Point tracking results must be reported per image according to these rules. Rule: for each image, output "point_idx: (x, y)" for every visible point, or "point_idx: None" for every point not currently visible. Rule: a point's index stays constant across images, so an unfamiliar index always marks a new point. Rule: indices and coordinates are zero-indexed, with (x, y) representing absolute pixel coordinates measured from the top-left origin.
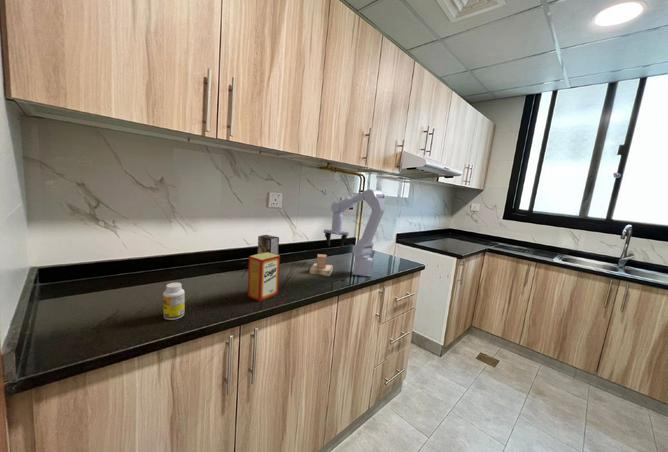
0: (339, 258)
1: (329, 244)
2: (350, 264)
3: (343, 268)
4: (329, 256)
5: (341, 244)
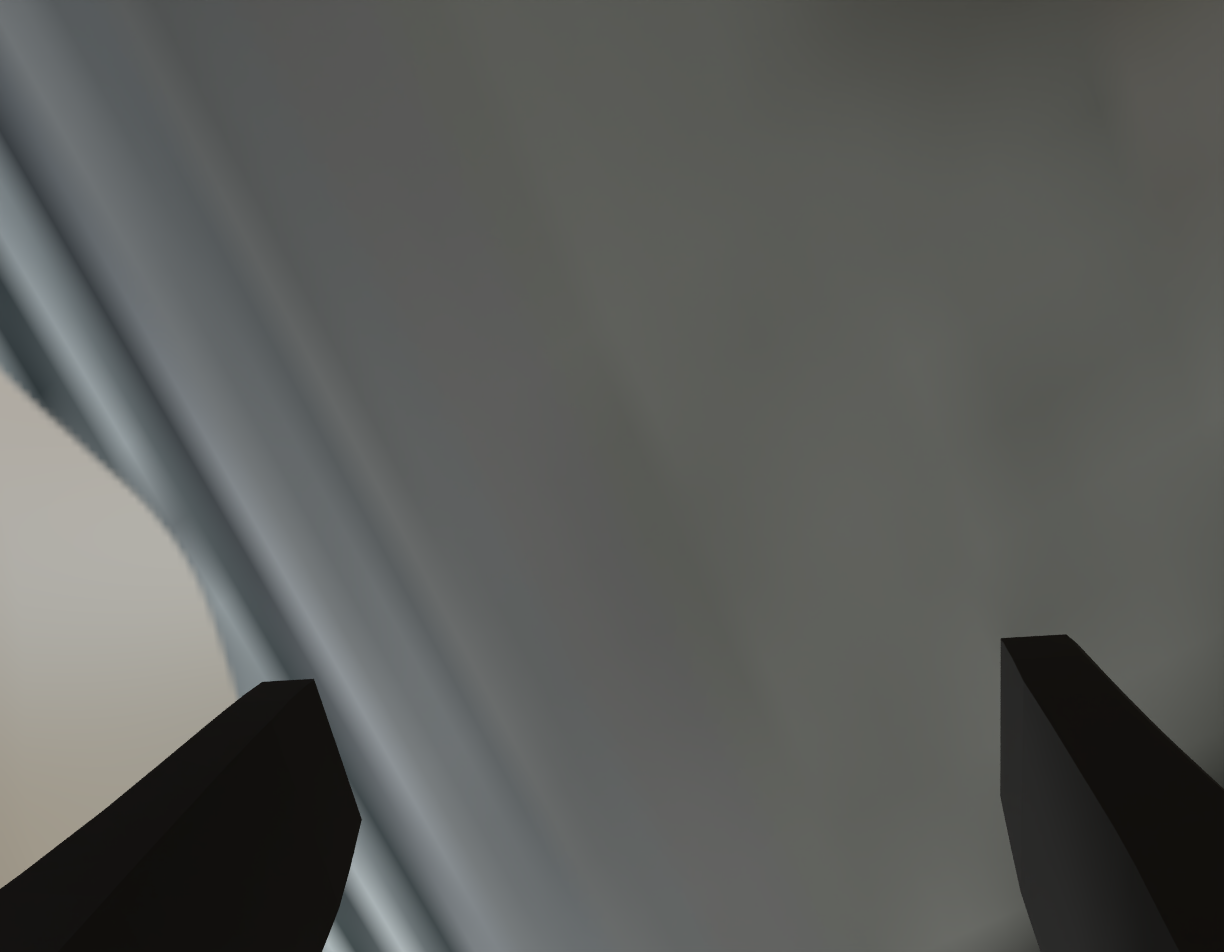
0: (741, 861)
1: (1017, 791)
2: (272, 555)
3: (220, 67)
4: None
5: (169, 789)
